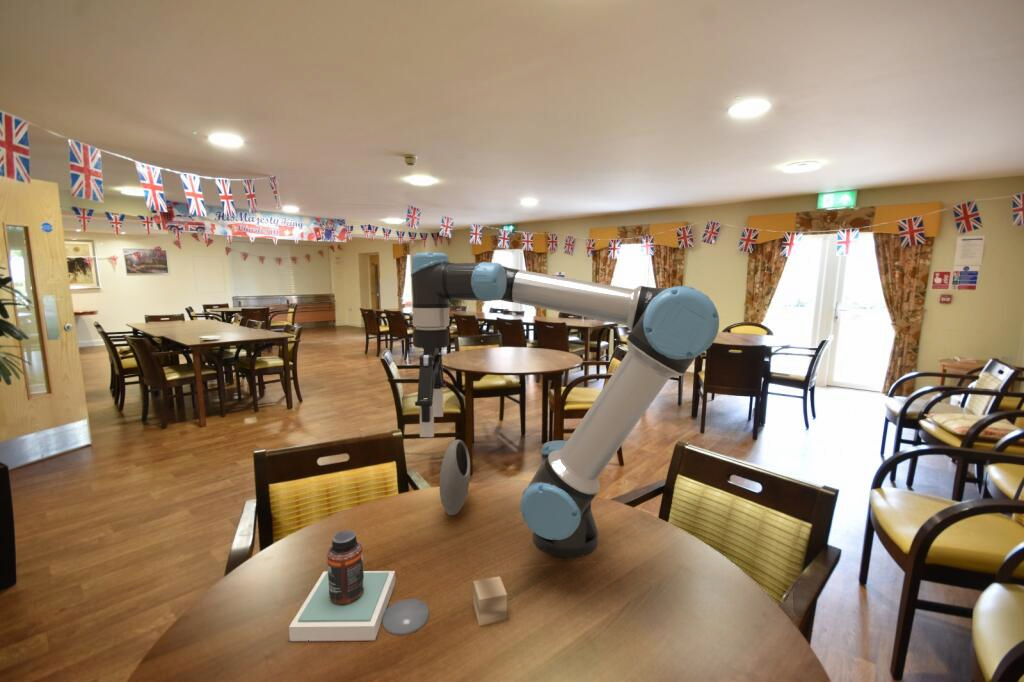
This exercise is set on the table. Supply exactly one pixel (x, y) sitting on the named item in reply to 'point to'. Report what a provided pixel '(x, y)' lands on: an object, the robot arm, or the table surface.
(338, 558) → the supplement bottle
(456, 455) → the grey hollow oval piece
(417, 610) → the coaster
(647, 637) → the table surface
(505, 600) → the oak block
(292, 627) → the podium
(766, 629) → the table surface
